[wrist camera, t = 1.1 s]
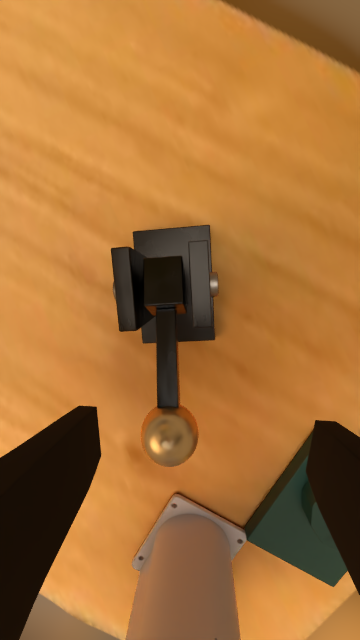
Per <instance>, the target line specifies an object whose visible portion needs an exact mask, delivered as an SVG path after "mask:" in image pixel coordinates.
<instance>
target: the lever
mask: <svg viewBox="0 0 360 640" xmlns="http://www.w3.org/2000/svg"><path fill="white" fill-rule="evenodd" d="M143 305H144V307H145V308H146V309H147V310H148V311H149V312H150V313H151V314H152V315H153V316H156V348H157V407H155V408H154V409H152V410H151V411H150V412H149V413H148V415H147V416H146V418H145V419H144V422H143V424H142V428H141V443H142V446H143V449H144V451H145V453H146V455H147V456H148V457H149V458H150V459H151V460H152V461H153V462H154V463H156V464H158V465H161V466H165V467H174V466H178V465H180V464H182V463H184V462H185V461H187V460H188V459H189V458H190V457H191V455H192V454H193V453H194V451H195V449H196V446H197V443H198V437H199V432H198V426H197V422H196V420H195V418H194V416H193V415H192V413H191V412H190V411H189V410H188V409H187V408H185V407H184V406H182V405H180V385H179V355H178V325H177V314H186V313H187V302H186V278H185V269H184V263H183V258H182V256H181V255H180V256H167V257H154V258H144V259H143Z"/></svg>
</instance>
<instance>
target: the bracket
mask: <svg viewBox="0 0 360 640" xmlns="http://www.w3.org/2000/svg"><path fill="white" fill-rule="evenodd" d="M133 240H134V249H132V248H130V247H118V248H111V256H112V265H113V275H114V282H113V294H114V297H115V300H116V304H117V314H118V324H119V331H121V332H123V331H136V330H138V329H139V328H141V329H142V340H143V343H156V316H153V315H152V314H151V313H150V312H149V311H148V310H147V309H146V308H145V307H144V305H143V259H144V258H154V257H167V256H180V255H181V256H182V258H183V263H184V269H185V278H186V302H187V313H186V314H177V325H178V342H184V341H205V340H215V329H214V308H213V296H218V275H217V272H212V264H211V243H210V225H202V226H191V227H180V228H168V229H157V230H145V231H134V232H133Z"/></svg>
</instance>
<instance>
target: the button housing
mask: <svg viewBox="0 0 360 640" xmlns="http://www.w3.org/2000/svg"><path fill="white" fill-rule="evenodd" d="M313 431H314V430H313ZM312 436H313V432H312V433H311V435H310V436H309V437H308V439H307V440H306V442H305V443H304V444H303V446H302V447H301V449H300V450H299V451H298V453H297V454H296V456H295V457H294V459H293V460H292V461H291V463H290V464H289V466H288V467H287V468H286V470H285V471H284V473H283V474H282V475H281V477H280V478H279V480H278V481H277V482H276V484H275V485H274V487H273V488H272V489H271V491H270V492H269V494H268V495H267V496H266V498H265V499H264V501H263V502H262V503H261V505H260V506H259V508H258V509H257V510H256V512H255V513H254V515H253V516H252V518H251V519H250V520H249V522H248V523H247V525H246V526H245V533H246V539H247V541H249V542H251V543H253V544H255V545H256V546H258V547H260V548H262V549H264V550H266V551H268V552H269V553H271V554H273V555H275V556H277V557H279V558H280V559H282V560H284V561H286V562H288V563H290V564H291V565H293V566H295V567H297V568H299V569H301V570H303V571H304V572H306V573H308V574H310V575H312V576H314V577H315V578H317V579H319V580H321V581H323V582H325V583H326V584H328V585H330V586H332V587H334V586H335V585H336V584H337V582H338V581H339V580H340V579H341V578H342V577H343V575H344V574H345V573H346V572H347V571H348V570H347V568H346V566H345V563H344V561H343V559H342V557H341V555H340V553H339V551H338V549H337V547H336V545H335V543H334V540H333V538H332V536H331V534H330V532H329V530H328V528H327V525H326V523H325V521H324V519H323V517H322V515H321V512H320V510H319V508H318V505H317V503H316V500H315V497H314V494H313V492H312V489H311V486H310V483H309V480H308V477H307V474H306V466H307V461H308V456H309V451H310V446H311V441H312Z"/></svg>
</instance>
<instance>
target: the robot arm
mask: <svg viewBox="0 0 360 640" xmlns="http://www.w3.org/2000/svg"><path fill="white" fill-rule="evenodd" d="M100 458H101V448H100V438H99V427H98V417H97V407H92V406H78V407H76V408H75V409H73V410H72V411H70V412H69V413H67V414H66V415H64V416H63V417H61V418H60V419H58V420H57V421H55V422H54V423H52V424H51V425H49V426H48V427H46V428H45V429H43V430H42V431H40V432H39V433H37V434H36V435H34V436H33V437H32V438H30V439H29V440H27V441H26V442H24V443H23V444H21V445H20V446H18V447H17V448H15V449H14V450H12V451H10V452H9V453H7V454H6V455H4V456H2V457H1V458H0V640H19V639H20V636H21V634H22V631H23V629H24V626H25V624H26V621H27V619H28V617H29V614H30V612H31V609H32V607H33V604H34V602H35V600H36V598H37V595H38V593H39V591H40V589H41V587H42V585H43V582H44V580H45V578H46V576H47V574H48V572H49V570H50V568H51V566H52V564H53V562H54V560H55V558H56V556H57V554H58V551H59V549H60V547H61V545H62V543H63V541H64V539H65V537H66V535H67V533H68V531H69V529H70V527H71V525H72V523H73V521H74V519H75V517H76V515H77V513H78V511H79V509H80V507H81V505H82V502H83V500H84V498H85V496H86V494H87V492H88V490H89V488H90V485H91V482H92V480H93V477H94V475H95V472H96V469H97V466H98V463H99V460H100ZM306 474H307V477H308V480H309V483H310V486H311V489H312V492H313V494H314V497H315V500H316V503H317V505H318V508H319V510H320V512H321V515H322V517H323V519H324V521H325V523H326V525H327V528H328V530H329V532H330V534H331V536H332V538H333V540H334V543H335V545H336V547H337V549H338V551H339V553H340V555H341V557H342V559H343V561H344V563H345V566H346V568H347V570H348V572H349V574H350V576H351V578H352V580H353V582H354V584H355V587H356V589H357V591H358V593H359V595H360V438H359V437H358V436H357V435H355V434H354V433H352V432H351V431H349V430H348V429H346V428H345V427H343V426H342V425H340V424H339V423H337V422H336V421H319V420H315V425H314V431H313V436H312V441H311V446H310V451H309V456H308V461H307V466H306ZM173 503H175V504H173ZM246 540H247V539H246V533H245V530H244V529H242V528H240V527H238V526H236V525H234V524H233V523H231V522H229V521H227V520H225V519H223V518H222V517H220V516H218V515H216V514H214V513H212V512H211V511H209V510H207V509H205V508H203V507H201V506H199V505H198V504H196V503H194V502H192V501H190V500H188V499H187V498H185V497H183V496H181V495H179V494H174V495H173V496H172V498H171V499H170V501H169V502H168V504H167V506H166V507H165V509H164V510H163V512H162V514H161V515H160V517H159V518H158V520H157V522H156V523H155V525H154V526H153V528H152V530H151V531H150V533H149V534H148V536H147V538H146V539H145V541H144V542H143V544H142V546H141V547H140V549H139V550H138V552H137V554H136V555H135V557H134V558H133V561H132V566H133V568H134V569H136V570H138V571H140V572H139V577H138V582H137V587H136V592H135V596H134V601H133V606H132V611H131V616H130V621H129V626H128V630H127V635H126V640H241V638H240V629H239V621H238V613H237V604H236V596H235V587H234V579H233V571H232V562H231V561H232V560H233V558H234V557H235V556H236V554H237V553H238V551H239V550H240V549H241V547H242V546H243V545H244V543H245V542H246Z"/></svg>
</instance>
